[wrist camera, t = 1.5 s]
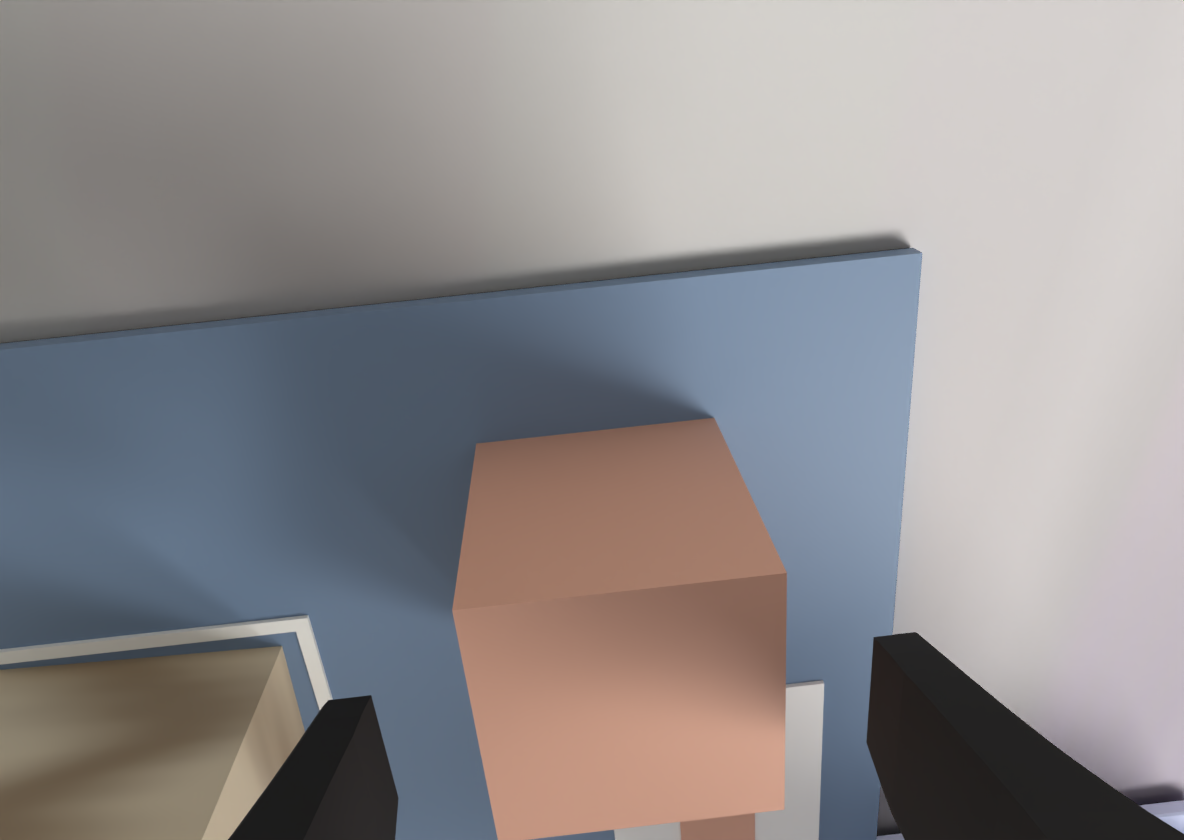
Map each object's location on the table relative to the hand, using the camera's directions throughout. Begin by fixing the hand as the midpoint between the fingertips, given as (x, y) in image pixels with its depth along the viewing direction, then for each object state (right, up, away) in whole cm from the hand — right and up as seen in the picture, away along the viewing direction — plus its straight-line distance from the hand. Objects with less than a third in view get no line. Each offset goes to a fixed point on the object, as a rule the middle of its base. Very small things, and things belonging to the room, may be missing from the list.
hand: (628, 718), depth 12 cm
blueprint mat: (-6, -1, +6) cm, 9 cm away
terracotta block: (0, +2, +5) cm, 5 cm away
